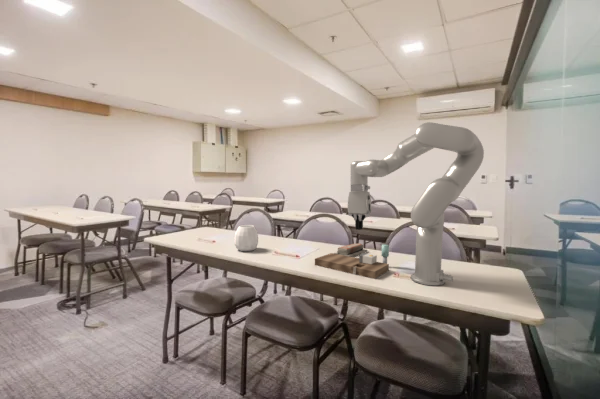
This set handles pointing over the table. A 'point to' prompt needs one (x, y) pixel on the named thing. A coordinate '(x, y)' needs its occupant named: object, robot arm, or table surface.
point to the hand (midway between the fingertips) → (359, 229)
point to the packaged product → (351, 250)
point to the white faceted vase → (246, 238)
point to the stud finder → (367, 258)
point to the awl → (385, 252)
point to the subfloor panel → (352, 265)
